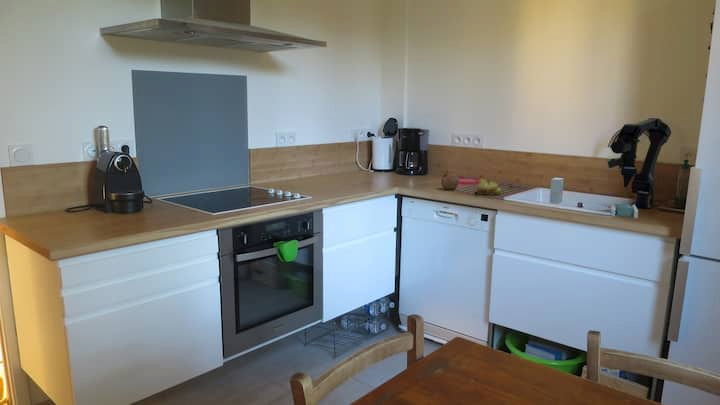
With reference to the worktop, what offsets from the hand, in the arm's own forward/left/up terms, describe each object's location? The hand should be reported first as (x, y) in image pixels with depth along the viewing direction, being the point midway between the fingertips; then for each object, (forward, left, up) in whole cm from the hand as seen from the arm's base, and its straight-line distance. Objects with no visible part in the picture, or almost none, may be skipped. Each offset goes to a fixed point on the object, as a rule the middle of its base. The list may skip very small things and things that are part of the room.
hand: (625, 187), depth 234 cm
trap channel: (+7, 0, -11) cm, 13 cm away
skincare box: (-6, -29, -11) cm, 32 cm away
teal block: (+8, 0, -11) cm, 14 cm away
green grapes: (-14, -63, -11) cm, 65 cm away
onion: (-18, -85, -11) cm, 87 cm away
